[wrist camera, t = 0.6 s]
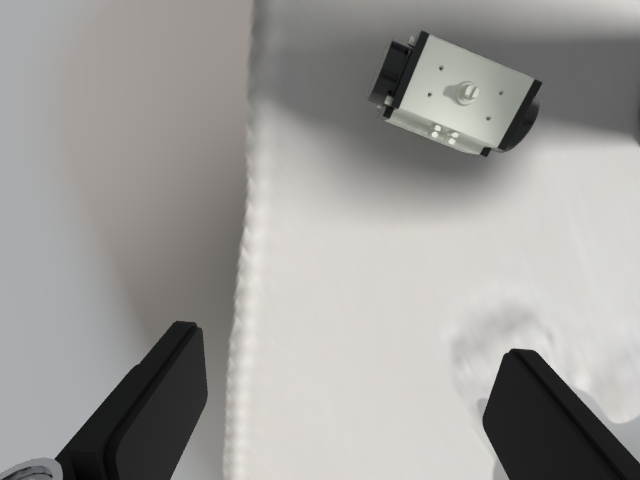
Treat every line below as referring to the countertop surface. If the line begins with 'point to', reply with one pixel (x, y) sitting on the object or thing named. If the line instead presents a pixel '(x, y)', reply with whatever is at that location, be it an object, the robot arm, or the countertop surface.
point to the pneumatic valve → (453, 95)
